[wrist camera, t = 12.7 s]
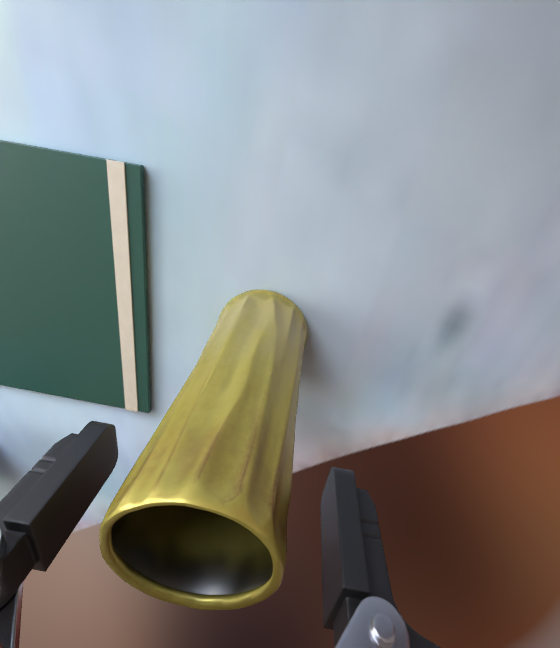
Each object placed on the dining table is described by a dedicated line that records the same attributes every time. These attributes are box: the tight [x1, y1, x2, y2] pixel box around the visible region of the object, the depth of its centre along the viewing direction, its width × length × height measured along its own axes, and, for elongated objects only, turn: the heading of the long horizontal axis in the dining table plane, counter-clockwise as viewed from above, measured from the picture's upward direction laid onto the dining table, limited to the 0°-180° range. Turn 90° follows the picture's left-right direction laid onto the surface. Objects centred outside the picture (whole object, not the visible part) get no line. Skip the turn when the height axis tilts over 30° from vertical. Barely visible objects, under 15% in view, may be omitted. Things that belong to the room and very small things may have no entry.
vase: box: [99, 290, 308, 610], centre depth 15 cm, size 6×6×14 cm
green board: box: [0, 140, 151, 413], centre depth 21 cm, size 18×20×1 cm
